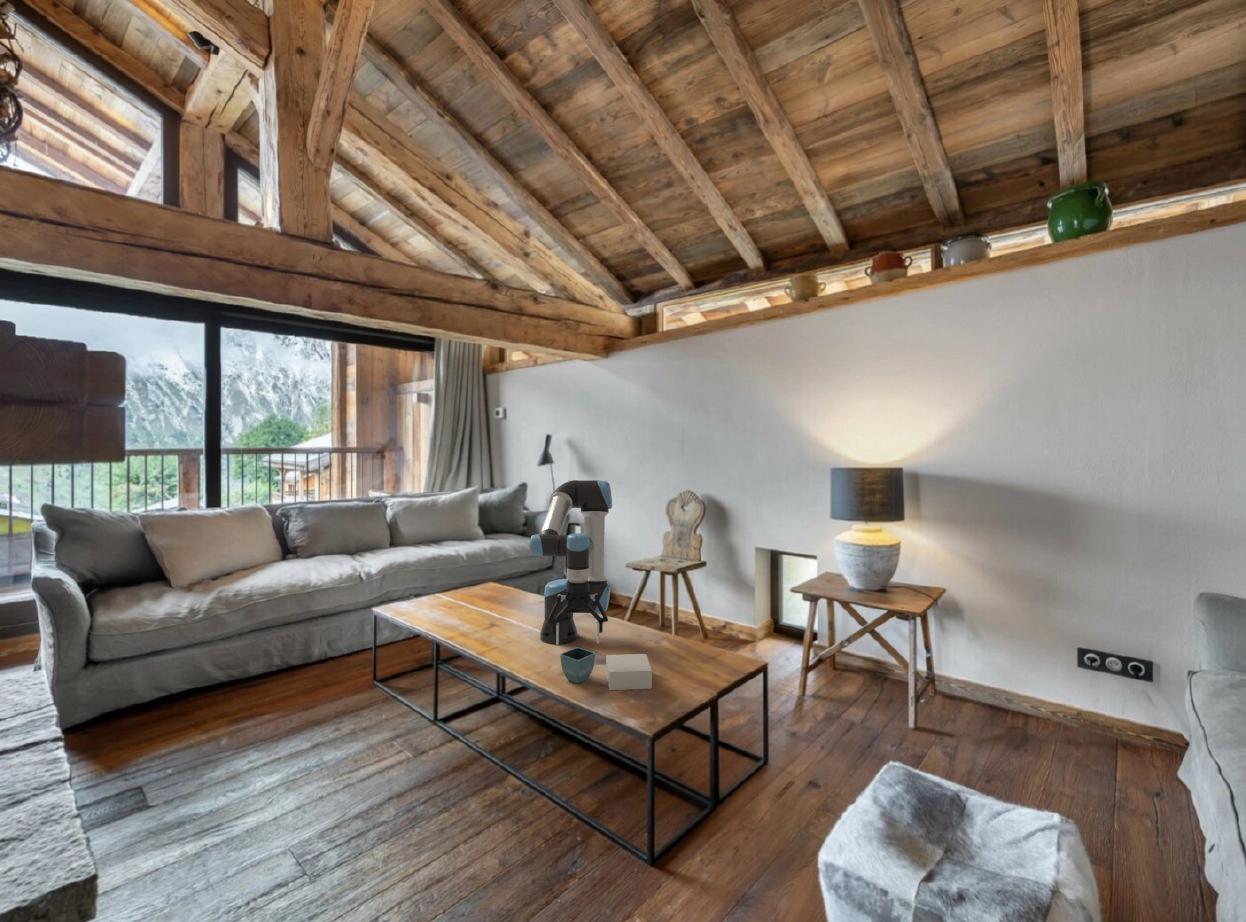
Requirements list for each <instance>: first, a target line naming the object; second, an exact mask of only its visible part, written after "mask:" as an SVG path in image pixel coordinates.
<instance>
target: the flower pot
mask: <svg viewBox="0 0 1246 922" xmlns="http://www.w3.org/2000/svg"><path fill="white" fill-rule="evenodd" d="M559 657H560V658H559V659H560V663H561V670H562V673H563V675H564V677H565V678H566V679H567V680H568V681H571V682H573V683H576V684H579V683H582V682H584V681H586V680H588V679H589V677H590V676H591V674H592V673H593V670H594V667H595V660H596V652H594V651H590V650H588V649H585V648H581V647H573V648H571V649H569V650H566V651H564V652H562V653H560V654H559Z"/></svg>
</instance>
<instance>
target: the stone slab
mask: <svg viewBox="0 0 1246 922" xmlns="http://www.w3.org/2000/svg"><path fill="white" fill-rule="evenodd" d="M605 658H606V659H605V661H606V662H605V665H606V666H605V668H606V669H605V674H606V678H607V685H608V690H609V691H621V690H622V691H625V690H647V689H648V690H650V689H652V688H653V685H652V684H653V670H652V666H651V665H650V662H649V659H648V655H647V654H646V653H632V654H631V653H630V654H629V653H627V654H606V657H605Z"/></svg>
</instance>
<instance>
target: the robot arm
mask: <svg viewBox="0 0 1246 922" xmlns="http://www.w3.org/2000/svg"><path fill="white" fill-rule="evenodd" d="M550 495H551V496H550V497H549V503H548V504H549V508H548V511H547V513H546V516H545V518H544V521H543V524H542V527H541V529H540V532H539V534H538V533H537V534H533V535H531V537H530V541H529V552H530V554H531V556H534V557H536V556H537V557H565V558H566V578H559V579H556V580H552V581H549V582H547V583H546V584H545V586H544V594H543V597H544V620H543V622H542V626H541V630H540V634H539V636H540V637H539V638H540V640H541V641H542V642H544V643H547V644H553V645H554V644H555V645H557V646H558V645H560V644H568V643H571V642H574V641H576V640H577V639H578V629H577V626H576V623H575V620H574V614H591V615H592V617H593V618H594V619H596V644H600V634H602V633H603V628H604V627H603V624H604V623H607V622H608V621H609V619H608V615H607V613H606V612H607V610H608V607H609V603H610V596H611V584H610V583H608V579H607V578H606V577H605V576H604V572H605V571H604V570H605V569H604V567H605V566H604V565H605V529H606V528H605V525H606V524H605V522H606V521H605V519H606V516H607V515H608V514H609V511H610V510H611V509H612V508H613V498H612V490H611V484H610V483H609V482H608V481H607V480H591V479H589V480H576V479H574V480H568V481H566V482H564V483H562V484H561V485H559V486H558V487H557V488H556V489H554V490H553V492H552V493H551V494H550ZM572 509H580V513H581V515H582V516H583V533H582V532H581V533H571V534H562V533H563V529H564V526H565V522H566V521H567V520H566V519H567V516H568V513H569V512H570V511H571V510H572ZM600 615H601V616H600Z"/></svg>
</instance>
